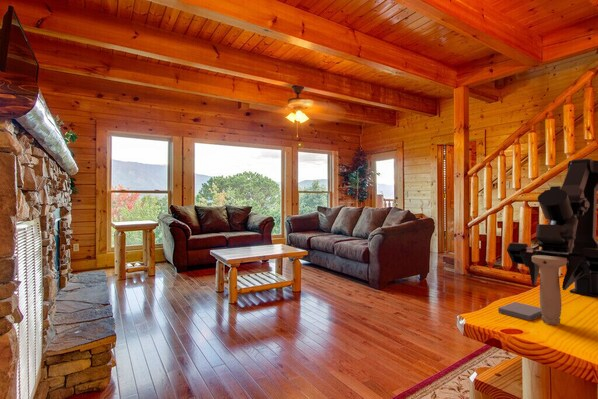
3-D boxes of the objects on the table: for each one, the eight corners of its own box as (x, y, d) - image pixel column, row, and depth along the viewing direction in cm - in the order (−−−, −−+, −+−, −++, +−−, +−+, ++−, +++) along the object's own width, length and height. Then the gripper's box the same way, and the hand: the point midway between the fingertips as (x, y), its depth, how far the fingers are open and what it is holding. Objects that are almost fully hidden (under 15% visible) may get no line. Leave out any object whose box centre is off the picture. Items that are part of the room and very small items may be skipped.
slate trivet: (515, 306, 86) (515, 301, 86) (545, 313, 80) (545, 309, 80) (498, 312, 82) (498, 307, 82) (529, 320, 76) (529, 315, 76)
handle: (564, 329, 71) (562, 260, 71) (530, 321, 76) (528, 257, 76) (572, 324, 73) (570, 257, 73) (538, 316, 79) (536, 254, 79)
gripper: (508, 211, 85) (491, 259, 78) (606, 211, 70) (596, 271, 63) (520, 238, 89) (505, 286, 83) (613, 244, 75) (606, 303, 68)
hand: (547, 286), depth 74 cm, fingers closed on handle, 5 cm apart
